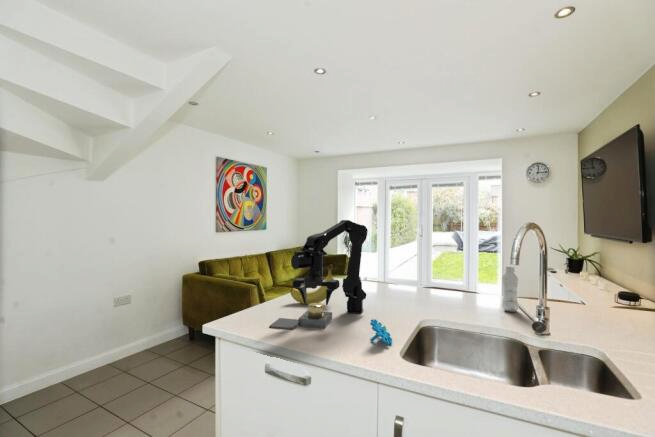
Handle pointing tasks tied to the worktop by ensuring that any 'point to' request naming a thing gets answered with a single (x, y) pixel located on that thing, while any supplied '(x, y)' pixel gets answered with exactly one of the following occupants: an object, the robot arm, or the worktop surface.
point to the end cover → (315, 310)
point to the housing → (315, 320)
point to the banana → (314, 295)
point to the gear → (380, 332)
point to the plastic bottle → (510, 290)
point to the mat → (285, 323)
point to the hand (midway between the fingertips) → (316, 304)
